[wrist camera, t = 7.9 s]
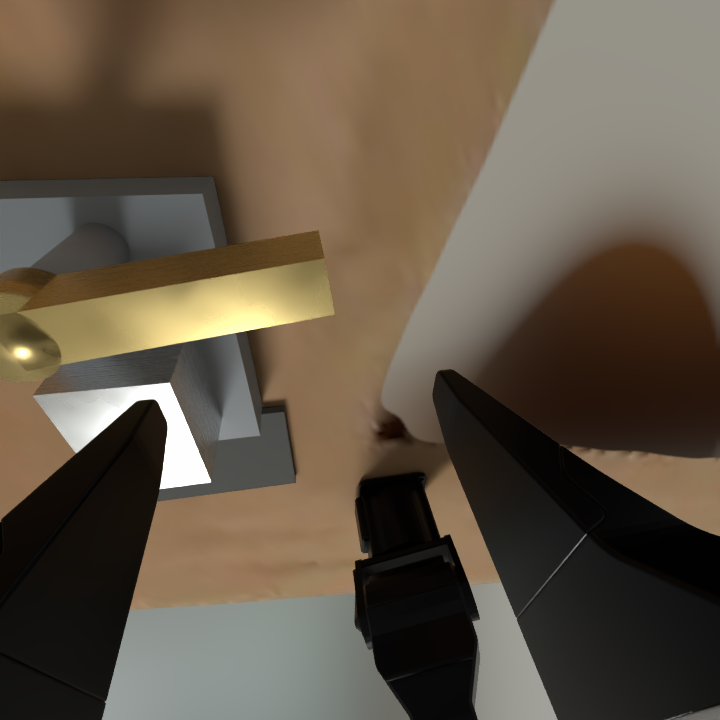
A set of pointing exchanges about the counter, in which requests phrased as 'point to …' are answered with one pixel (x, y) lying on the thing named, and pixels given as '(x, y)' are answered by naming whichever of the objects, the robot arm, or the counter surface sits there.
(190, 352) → the lever cap
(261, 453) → the rubber mat
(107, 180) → the body
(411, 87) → the counter surface
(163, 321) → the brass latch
